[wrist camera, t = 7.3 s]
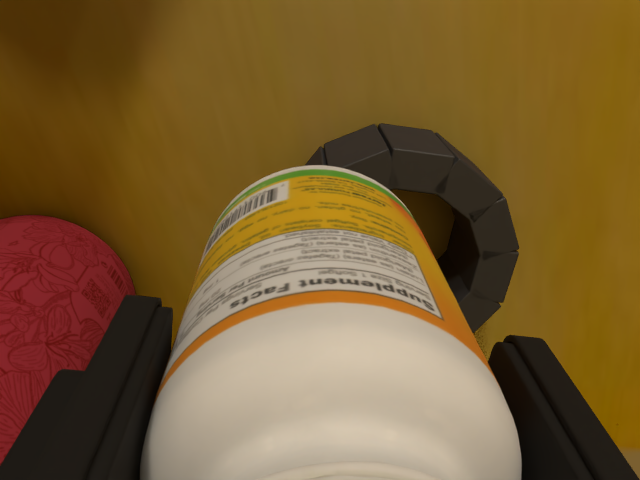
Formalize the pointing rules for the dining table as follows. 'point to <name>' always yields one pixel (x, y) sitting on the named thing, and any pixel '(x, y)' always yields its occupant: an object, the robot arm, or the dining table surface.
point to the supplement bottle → (325, 349)
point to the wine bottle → (50, 308)
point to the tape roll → (453, 187)
